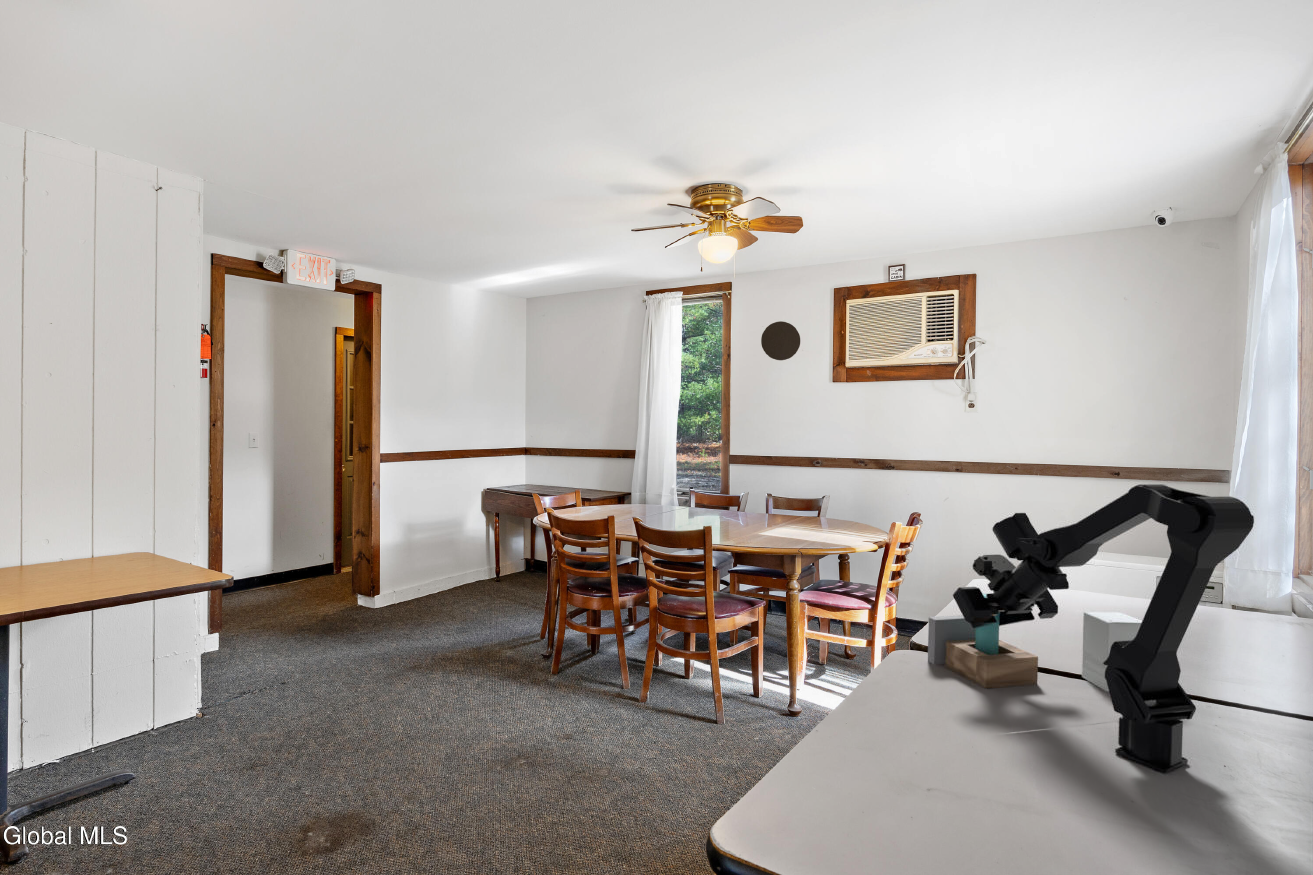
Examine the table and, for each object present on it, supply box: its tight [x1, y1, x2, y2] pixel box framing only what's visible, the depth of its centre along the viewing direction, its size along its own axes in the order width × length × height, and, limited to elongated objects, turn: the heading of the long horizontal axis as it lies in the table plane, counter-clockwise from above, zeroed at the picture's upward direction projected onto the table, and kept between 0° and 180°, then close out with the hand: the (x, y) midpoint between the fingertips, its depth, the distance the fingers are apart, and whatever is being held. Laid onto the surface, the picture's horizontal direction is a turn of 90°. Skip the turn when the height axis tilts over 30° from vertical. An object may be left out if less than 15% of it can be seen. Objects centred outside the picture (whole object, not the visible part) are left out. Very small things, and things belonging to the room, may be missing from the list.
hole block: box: [945, 639, 1039, 689], centre depth 127 cm, size 11×11×5 cm
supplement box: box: [1081, 611, 1142, 692], centre depth 124 cm, size 7×7×13 cm
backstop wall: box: [927, 614, 976, 666], centre depth 135 cm, size 2×14×9 cm, turn 104°
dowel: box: [975, 593, 1000, 655], centre depth 128 cm, size 4×4×12 cm
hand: (982, 625), depth 129 cm, fingers closed on dowel, 4 cm apart
